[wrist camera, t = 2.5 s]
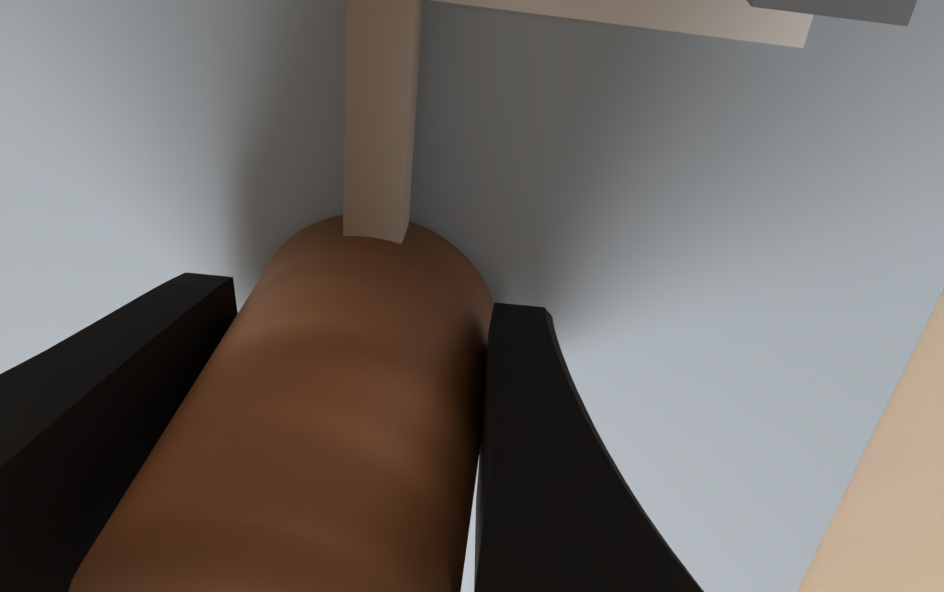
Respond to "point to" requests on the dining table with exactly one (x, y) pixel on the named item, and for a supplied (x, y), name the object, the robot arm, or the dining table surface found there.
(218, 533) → the brown block on rod
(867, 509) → the dining table surface
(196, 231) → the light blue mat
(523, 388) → the robot arm
